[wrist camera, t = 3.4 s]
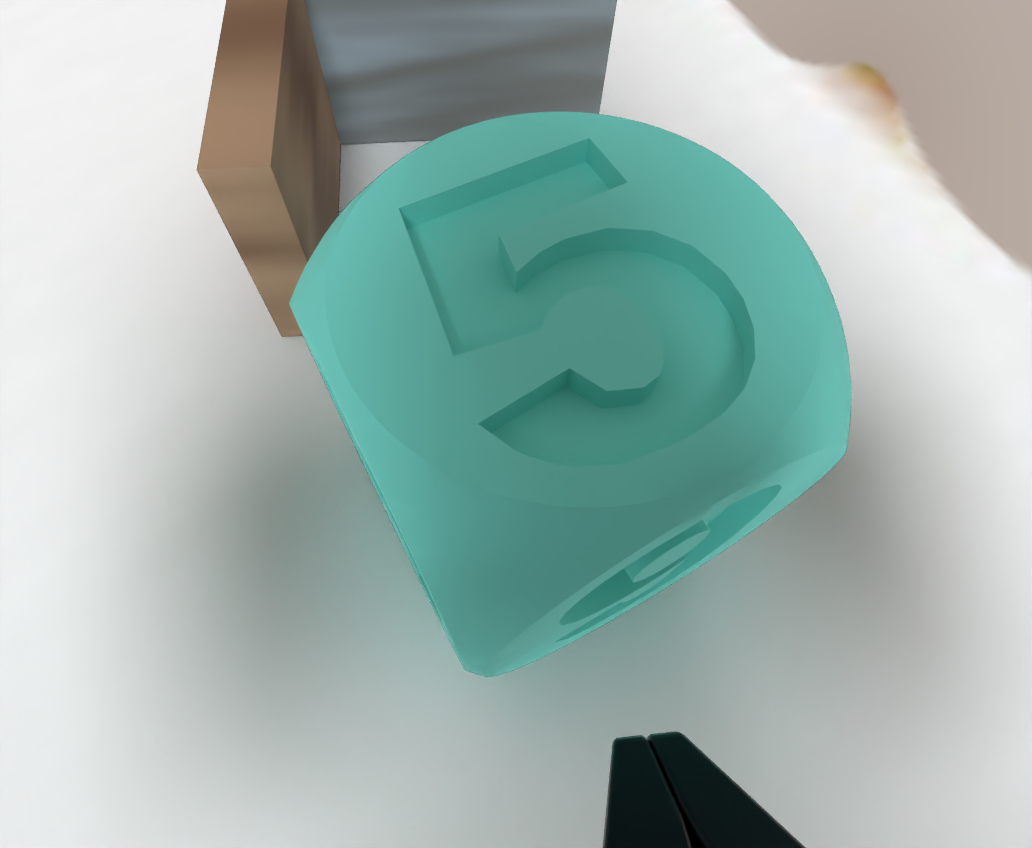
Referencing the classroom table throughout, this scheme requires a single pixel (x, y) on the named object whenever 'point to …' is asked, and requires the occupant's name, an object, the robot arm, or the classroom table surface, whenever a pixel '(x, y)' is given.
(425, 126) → the corner arena
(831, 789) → the classroom table surface
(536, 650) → the decorative dice
